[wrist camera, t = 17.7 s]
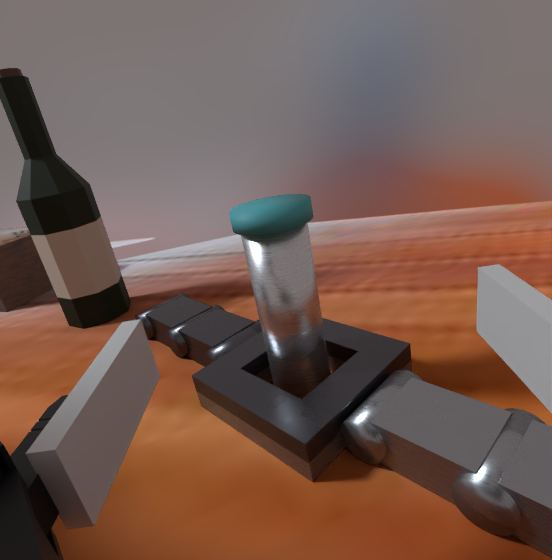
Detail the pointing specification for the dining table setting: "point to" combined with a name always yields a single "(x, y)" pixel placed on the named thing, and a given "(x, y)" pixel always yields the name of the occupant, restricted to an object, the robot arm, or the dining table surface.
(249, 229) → the steel pin
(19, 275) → the tissue box cover
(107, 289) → the wine bottle
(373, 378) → the chain ends
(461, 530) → the dining table surface
